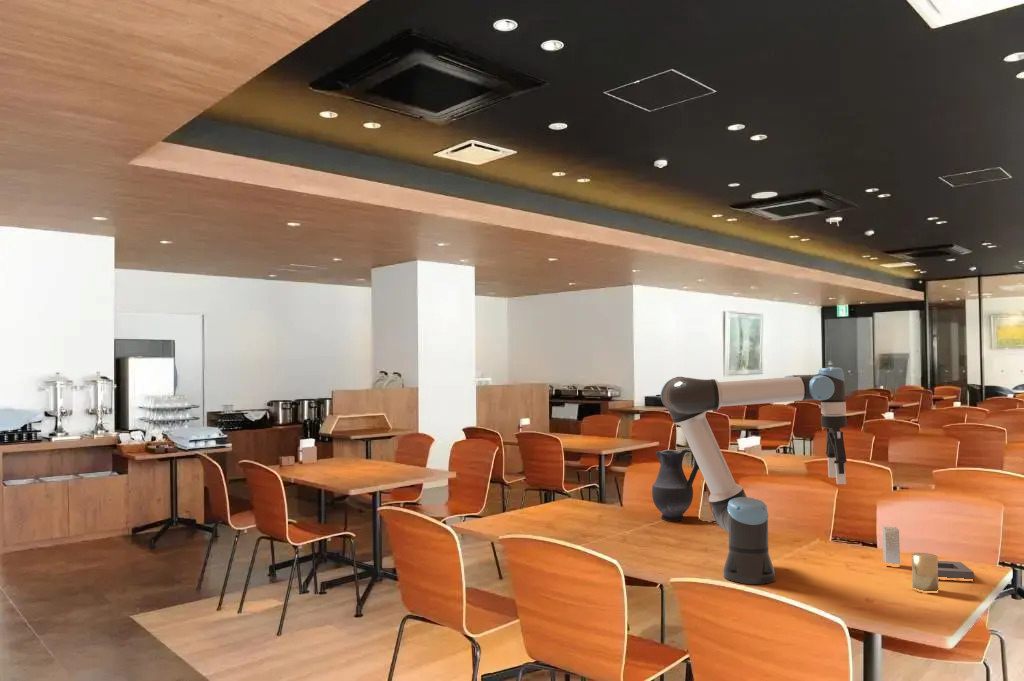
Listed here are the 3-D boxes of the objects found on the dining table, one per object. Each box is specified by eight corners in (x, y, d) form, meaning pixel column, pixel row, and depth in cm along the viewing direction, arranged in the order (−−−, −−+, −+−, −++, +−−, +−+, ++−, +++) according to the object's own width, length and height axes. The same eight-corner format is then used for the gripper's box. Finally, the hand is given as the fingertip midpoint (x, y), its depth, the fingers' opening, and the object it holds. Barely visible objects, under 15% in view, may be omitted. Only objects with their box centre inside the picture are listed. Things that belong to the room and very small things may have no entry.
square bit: (900, 567, 239) (899, 529, 239) (886, 567, 240) (885, 529, 240) (897, 564, 243) (896, 527, 243) (883, 563, 244) (882, 526, 244)
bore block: (974, 582, 222) (973, 572, 222) (929, 579, 225) (928, 569, 225) (960, 571, 234) (960, 561, 234) (918, 569, 237) (918, 559, 237)
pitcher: (664, 513, 331) (663, 445, 332) (708, 519, 318) (707, 447, 319) (645, 519, 318) (643, 448, 319) (690, 525, 305) (688, 451, 306)
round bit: (941, 594, 210) (940, 558, 211) (916, 593, 212) (915, 557, 212) (934, 588, 217) (933, 553, 217) (910, 586, 218) (909, 552, 219)
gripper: (814, 412, 257) (818, 475, 257) (828, 418, 233) (832, 486, 232) (838, 412, 256) (841, 474, 255) (854, 417, 231) (858, 486, 231)
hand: (837, 480), depth 244 cm, fingers open, 13 cm apart
